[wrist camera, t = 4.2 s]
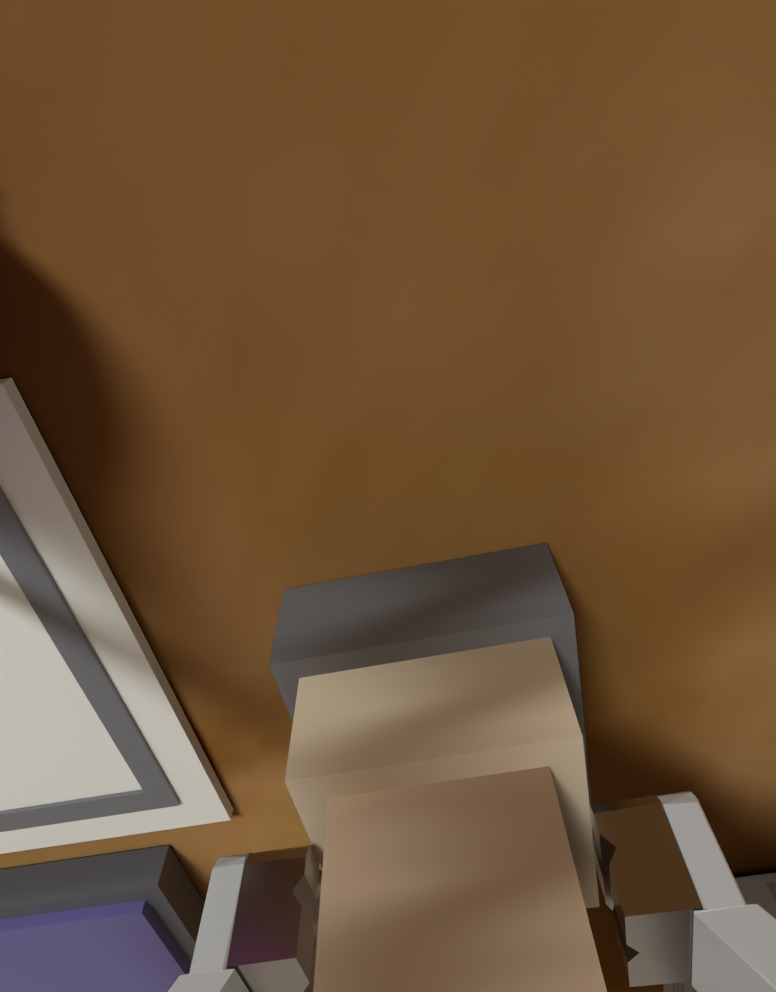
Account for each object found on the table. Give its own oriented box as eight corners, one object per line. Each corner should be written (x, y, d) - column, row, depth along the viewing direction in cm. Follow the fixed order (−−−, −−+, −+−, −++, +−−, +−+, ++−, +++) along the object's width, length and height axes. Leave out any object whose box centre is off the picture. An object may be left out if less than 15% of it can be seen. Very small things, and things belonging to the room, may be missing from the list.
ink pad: (168, 845, 17) (153, 898, 16) (274, 1016, 21) (268, 1066, 20) (-159, 892, 18) (-196, 945, 17) (7, 1047, 22) (-13, 1097, 21)
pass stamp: (546, 542, 12) (705, 960, 6) (568, 727, 15) (696, 1155, 9) (283, 589, 13) (198, 1018, 7) (346, 761, 15) (324, 1189, 9)
